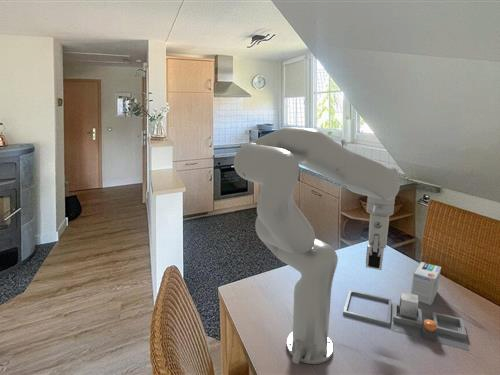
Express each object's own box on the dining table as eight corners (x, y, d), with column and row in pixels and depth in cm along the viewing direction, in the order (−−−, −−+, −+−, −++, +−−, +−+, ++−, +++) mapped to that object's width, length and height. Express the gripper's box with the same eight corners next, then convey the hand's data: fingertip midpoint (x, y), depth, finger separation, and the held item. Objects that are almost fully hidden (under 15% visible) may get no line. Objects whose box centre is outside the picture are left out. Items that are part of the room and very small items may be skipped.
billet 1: (381, 270, 97) (383, 248, 95) (365, 267, 99) (367, 246, 97) (382, 263, 101) (384, 243, 99) (366, 260, 103) (368, 240, 101)
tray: (389, 329, 95) (390, 323, 95) (342, 317, 101) (343, 311, 100) (390, 304, 107) (391, 299, 107) (349, 294, 113) (349, 289, 112)
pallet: (468, 353, 86) (471, 342, 85) (391, 333, 94) (393, 323, 93) (461, 324, 97) (462, 314, 96) (393, 308, 105) (394, 299, 104)
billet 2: (415, 323, 96) (418, 303, 94) (398, 319, 98) (400, 299, 96) (414, 315, 100) (417, 295, 98) (398, 311, 102) (400, 291, 100)
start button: (436, 333, 88) (437, 328, 88) (423, 329, 90) (424, 324, 89) (435, 326, 91) (436, 321, 91) (423, 323, 93) (423, 318, 92)
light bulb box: (416, 287, 117) (420, 260, 115) (437, 294, 113) (441, 266, 110) (409, 301, 109) (413, 272, 107) (431, 308, 105) (436, 279, 102)
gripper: (393, 217, 86) (386, 278, 91) (394, 201, 101) (388, 254, 106) (364, 214, 89) (358, 273, 94) (369, 198, 104) (364, 250, 109)
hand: (374, 262), depth 100 cm, fingers closed on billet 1, 4 cm apart
